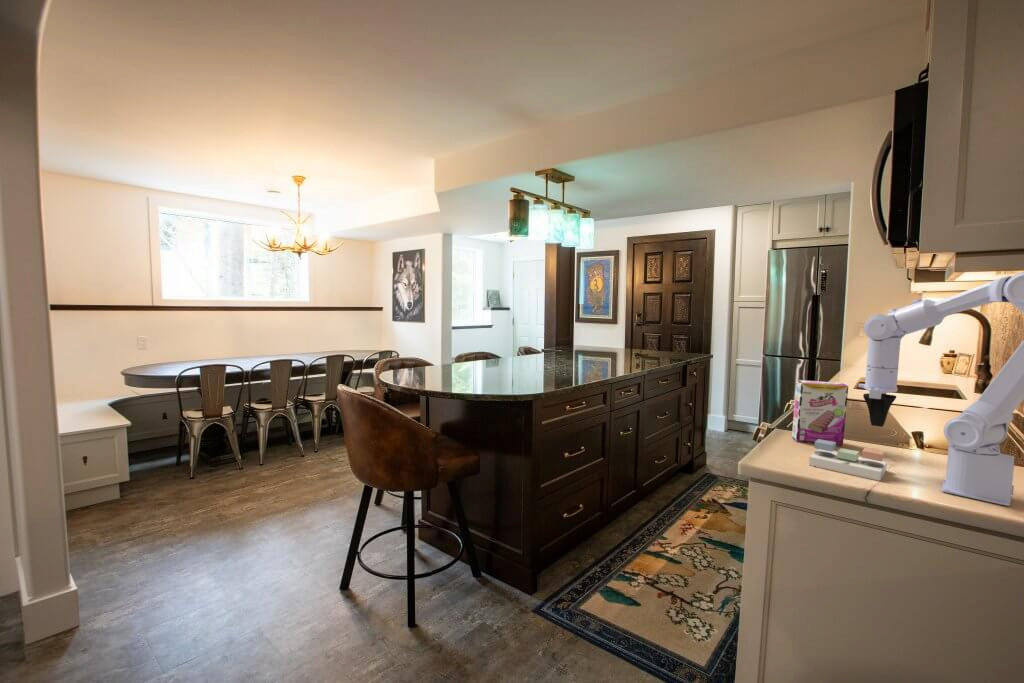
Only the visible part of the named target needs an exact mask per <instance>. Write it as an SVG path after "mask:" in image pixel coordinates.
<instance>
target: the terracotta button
mask: <svg viewBox="0 0 1024 683" xmlns="http://www.w3.org/2000/svg"><path fill="white" fill-rule="evenodd" d="M885 453H886V451H885V450H879V449H874V448H870V447H864V448H863V449H862V451H861V457H862V458H866V459H871V460H876V461H881V462H882V461H884V459H885Z"/></svg>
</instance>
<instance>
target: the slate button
mask: <svg viewBox="0 0 1024 683" xmlns="http://www.w3.org/2000/svg"><path fill="white" fill-rule="evenodd" d="M836 446H837V445H836V442H832V441H826V440H821V439H818V440H817V441H815V443H814V449H817V450H818V449H821V450H826V451H831V452H832V451H835V449H836Z"/></svg>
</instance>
